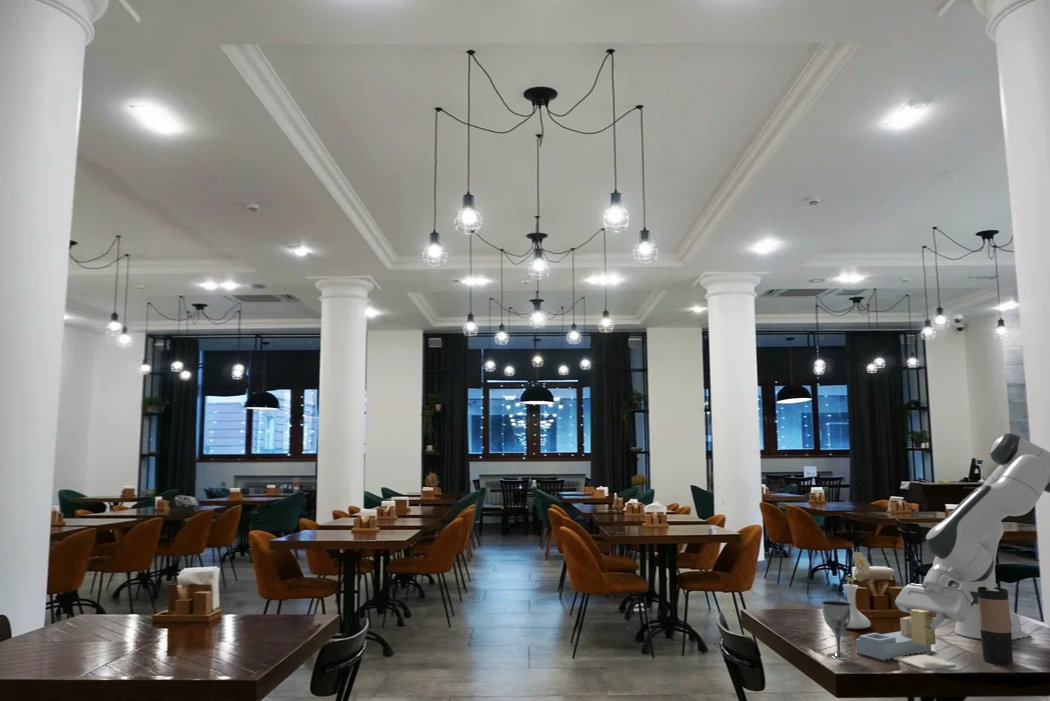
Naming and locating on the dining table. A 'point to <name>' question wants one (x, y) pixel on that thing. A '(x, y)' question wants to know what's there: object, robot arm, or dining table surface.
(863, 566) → the flower in vase
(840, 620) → the wine glass
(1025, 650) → the dining table surface
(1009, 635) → the travel mug
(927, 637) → the yellow rectangular block
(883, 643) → the grey stepped base plate
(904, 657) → the felt mat
